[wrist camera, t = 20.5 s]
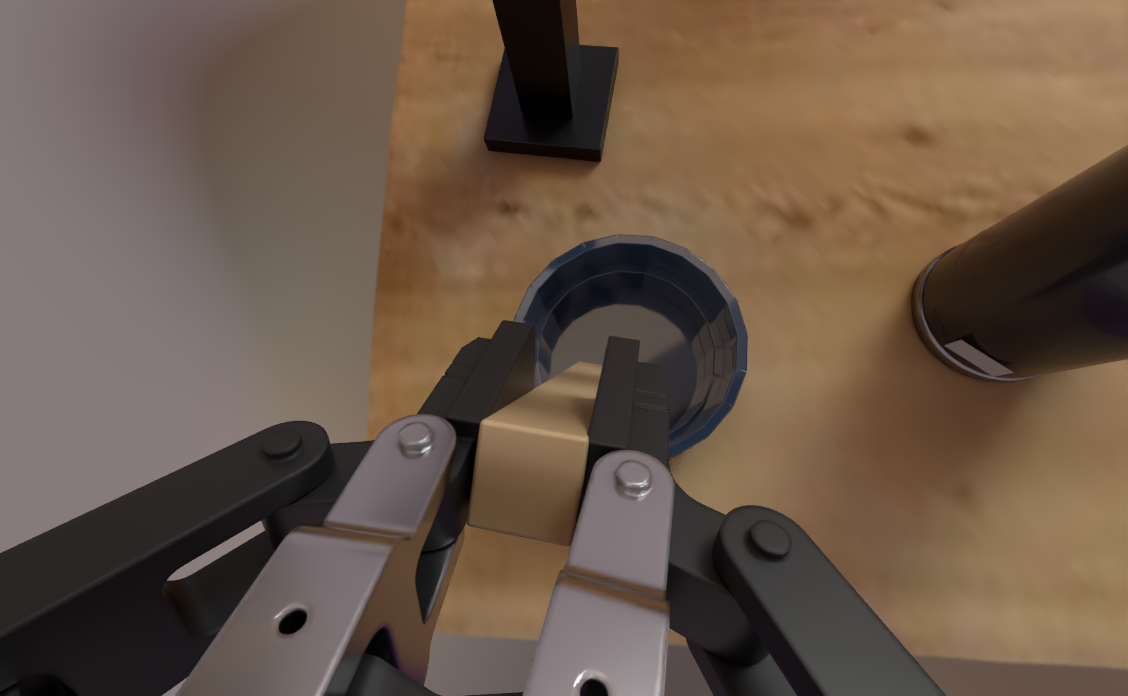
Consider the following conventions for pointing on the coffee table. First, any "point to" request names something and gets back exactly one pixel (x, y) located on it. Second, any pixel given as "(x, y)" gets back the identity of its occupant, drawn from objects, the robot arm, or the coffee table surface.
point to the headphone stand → (549, 84)
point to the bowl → (644, 323)
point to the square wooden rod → (536, 459)
